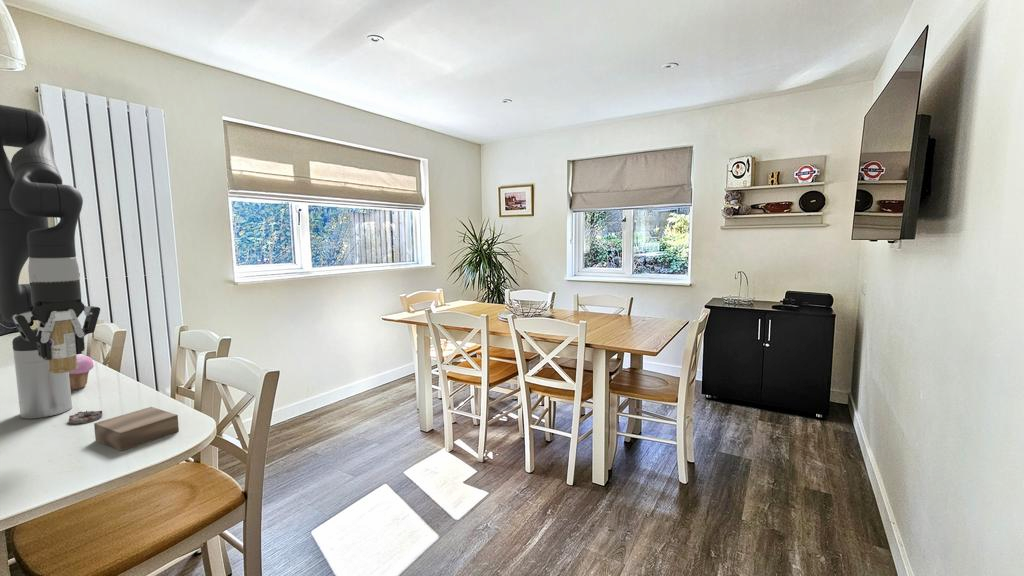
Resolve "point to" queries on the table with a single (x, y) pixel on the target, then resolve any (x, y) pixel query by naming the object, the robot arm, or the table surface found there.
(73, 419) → the donut
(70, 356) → the sprinkles bottle
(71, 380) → the cupcake
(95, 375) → the table surface
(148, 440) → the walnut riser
